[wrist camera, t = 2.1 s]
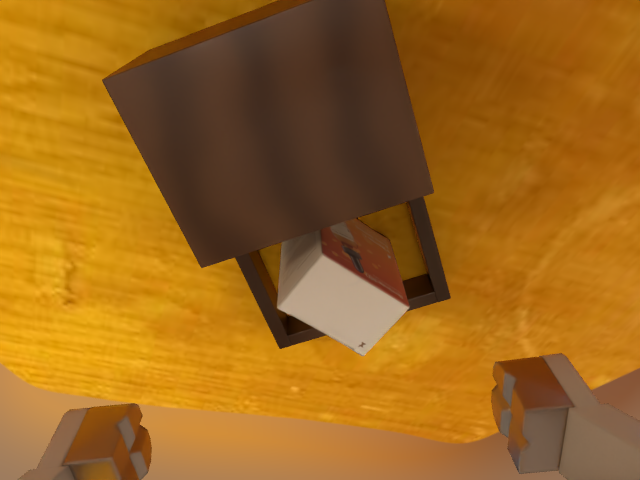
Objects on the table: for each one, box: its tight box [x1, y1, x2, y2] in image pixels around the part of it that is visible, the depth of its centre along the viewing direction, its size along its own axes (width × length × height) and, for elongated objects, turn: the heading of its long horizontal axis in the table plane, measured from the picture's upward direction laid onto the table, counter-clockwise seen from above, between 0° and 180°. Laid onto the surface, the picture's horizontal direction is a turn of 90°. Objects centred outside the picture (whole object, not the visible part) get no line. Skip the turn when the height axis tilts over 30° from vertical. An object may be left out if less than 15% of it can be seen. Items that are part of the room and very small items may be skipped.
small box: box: [277, 218, 410, 356], centre depth 42 cm, size 8×6×10 cm
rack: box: [102, 0, 451, 349], centre depth 39 cm, size 16×27×10 cm, turn 19°
